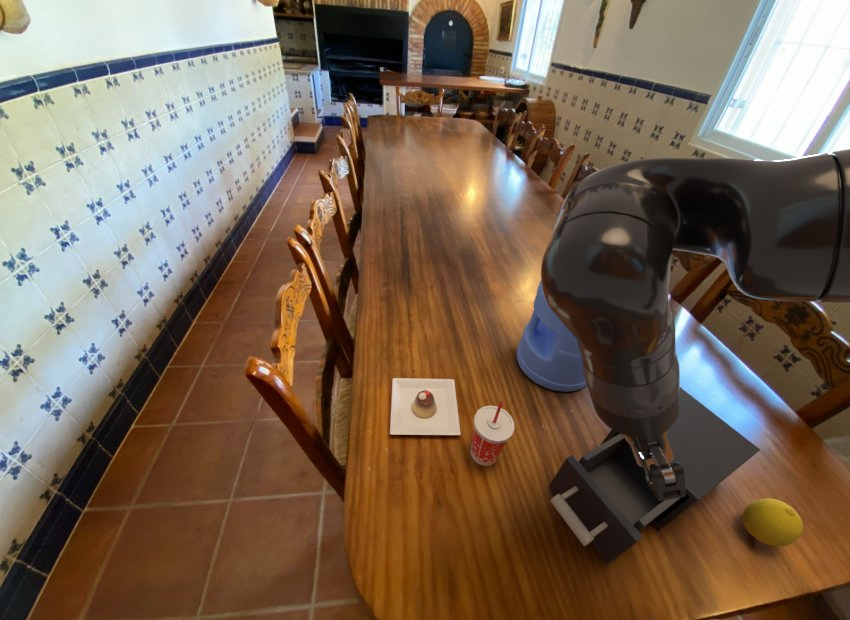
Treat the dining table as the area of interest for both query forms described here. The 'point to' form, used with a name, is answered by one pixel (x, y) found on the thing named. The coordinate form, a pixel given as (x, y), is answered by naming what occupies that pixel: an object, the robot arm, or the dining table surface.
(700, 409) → the dark drawer cabinet
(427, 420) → the dessert
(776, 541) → the lemon
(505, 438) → the beverage cup
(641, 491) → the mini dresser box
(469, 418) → the dining table surface
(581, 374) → the water jug
